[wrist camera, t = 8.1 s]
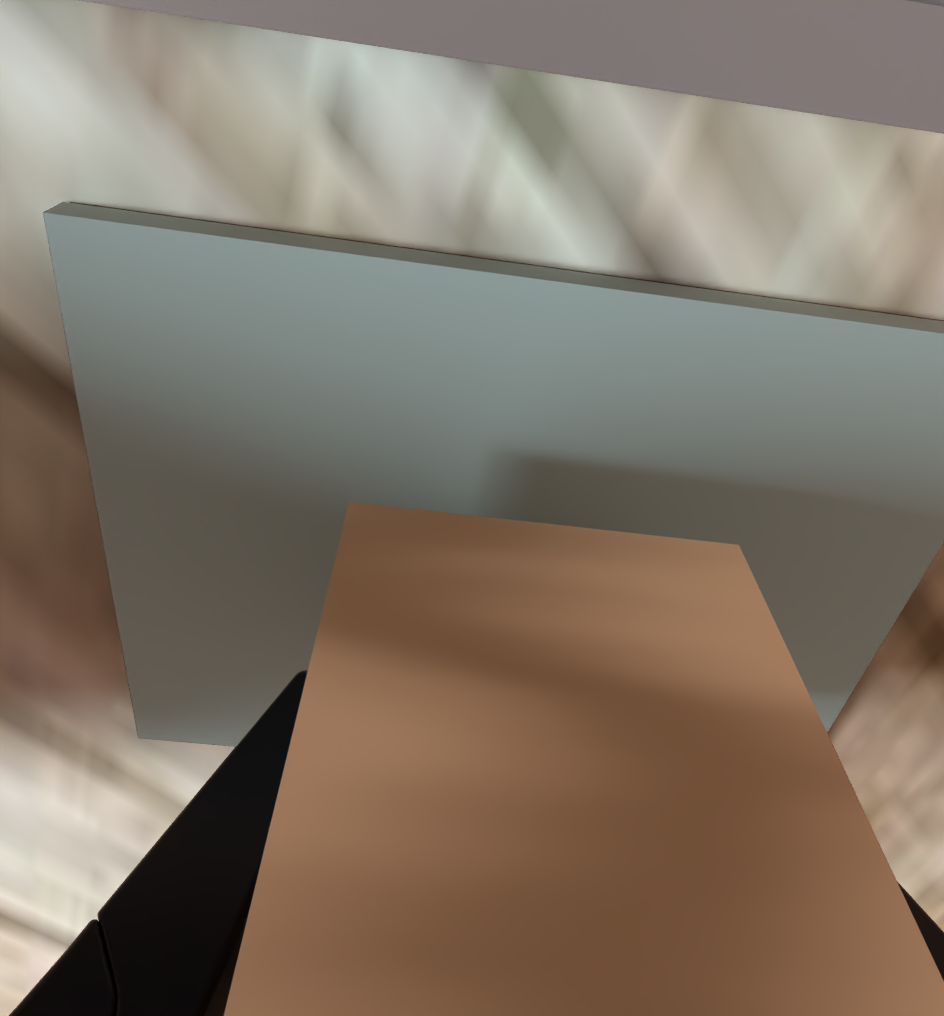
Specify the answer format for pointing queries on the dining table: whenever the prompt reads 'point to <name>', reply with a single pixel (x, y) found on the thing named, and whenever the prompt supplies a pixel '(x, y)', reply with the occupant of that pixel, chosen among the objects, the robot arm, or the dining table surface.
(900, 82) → the parts bin
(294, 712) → the robot arm
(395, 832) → the labelled block
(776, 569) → the mat
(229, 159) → the dining table surface
